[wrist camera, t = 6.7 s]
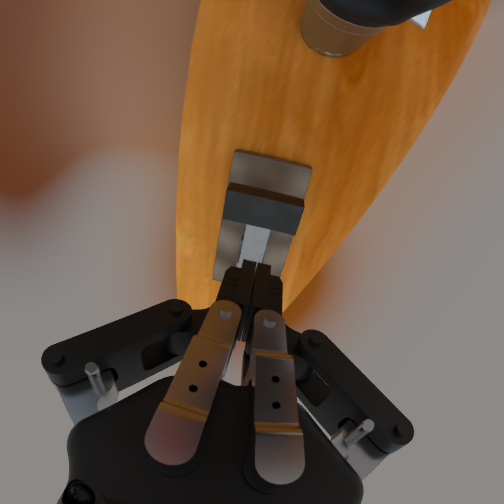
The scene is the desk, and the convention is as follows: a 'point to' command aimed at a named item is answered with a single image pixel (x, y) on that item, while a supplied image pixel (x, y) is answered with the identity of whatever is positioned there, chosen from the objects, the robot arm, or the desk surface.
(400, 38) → the desk surface
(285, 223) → the lever
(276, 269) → the base
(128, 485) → the robot arm
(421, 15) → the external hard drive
